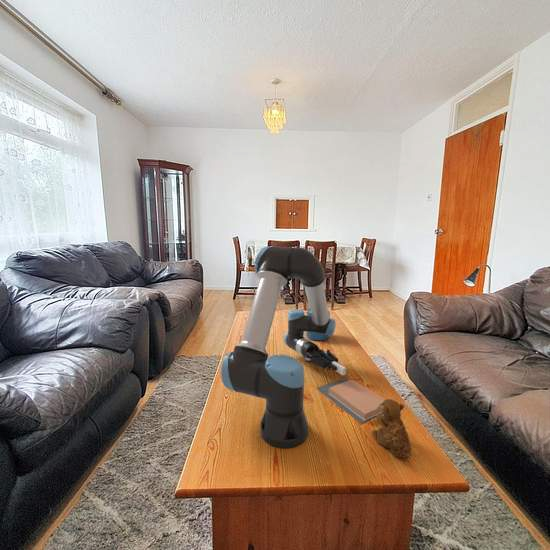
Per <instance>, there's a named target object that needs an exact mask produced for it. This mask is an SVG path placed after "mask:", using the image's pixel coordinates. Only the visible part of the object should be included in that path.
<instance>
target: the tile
mask: <svg viewBox="0 0 550 550" xmlns="http://www.w3.org/2000/svg"><path fill="white" fill-rule="evenodd" d="M329 394H330V395H331V396H333V397H334V398H335V399H336V400H338V401H339V402H340V403H342V404H343V405H344V406H346V407H347V408H348V409H350V410H351V411H352V412H354V413H355V414H356V415H358V416H359V417H360V418H361V419H363V420H364V421H365V420H368V419H370V418H372V417H374V416H376V415H378V414H381V413H383V410H382V405H381V406H379V405H380V404H381V403H383V401H384V400H385V399H384V398H382V397H381V396H379V395H377V394H376V393H374V392H373V391H371V390H369V389H368V388H366V387H365V386H363V385H361V384H360V383H358V382H357V381H355V380H353V379H349V381H346V382H344V383H341V384H338V385H335V386H332V387H329ZM378 406H379V407H380V409H379V407H378ZM377 407H378V408H377Z"/></svg>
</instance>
